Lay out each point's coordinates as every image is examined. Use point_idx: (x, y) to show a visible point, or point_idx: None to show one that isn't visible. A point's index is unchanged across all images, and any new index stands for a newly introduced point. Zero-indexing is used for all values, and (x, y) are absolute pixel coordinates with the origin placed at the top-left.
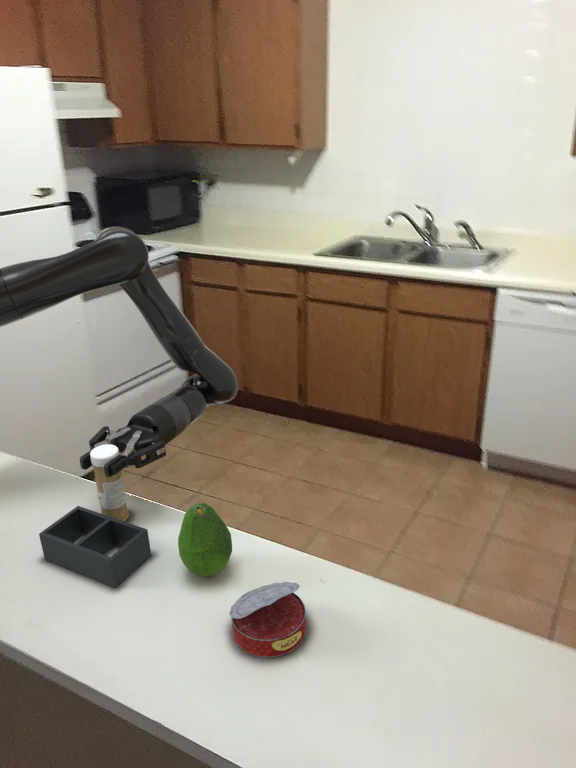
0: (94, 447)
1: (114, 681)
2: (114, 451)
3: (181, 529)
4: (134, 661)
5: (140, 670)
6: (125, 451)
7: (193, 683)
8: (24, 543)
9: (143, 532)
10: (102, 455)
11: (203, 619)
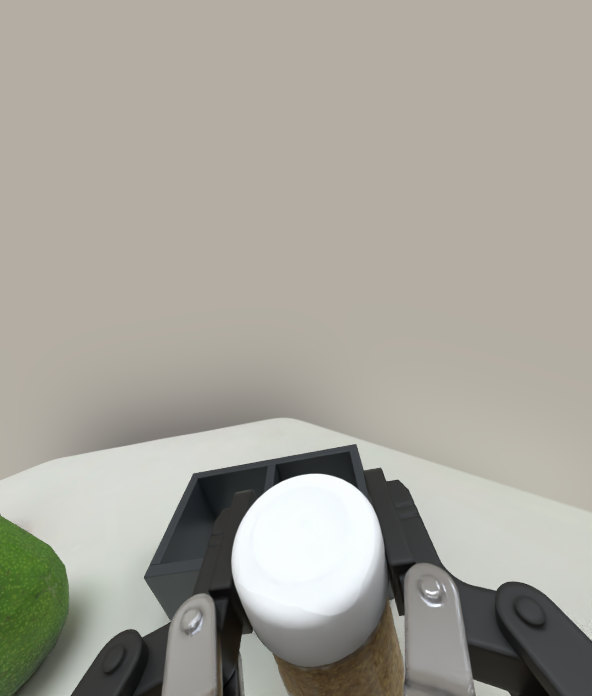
0: (431, 569)
1: (163, 445)
2: (243, 554)
3: (16, 527)
4: (149, 463)
5: (141, 461)
6: (203, 636)
7: (84, 478)
8: (445, 491)
9: (151, 561)
10: (277, 494)
11: (61, 545)
